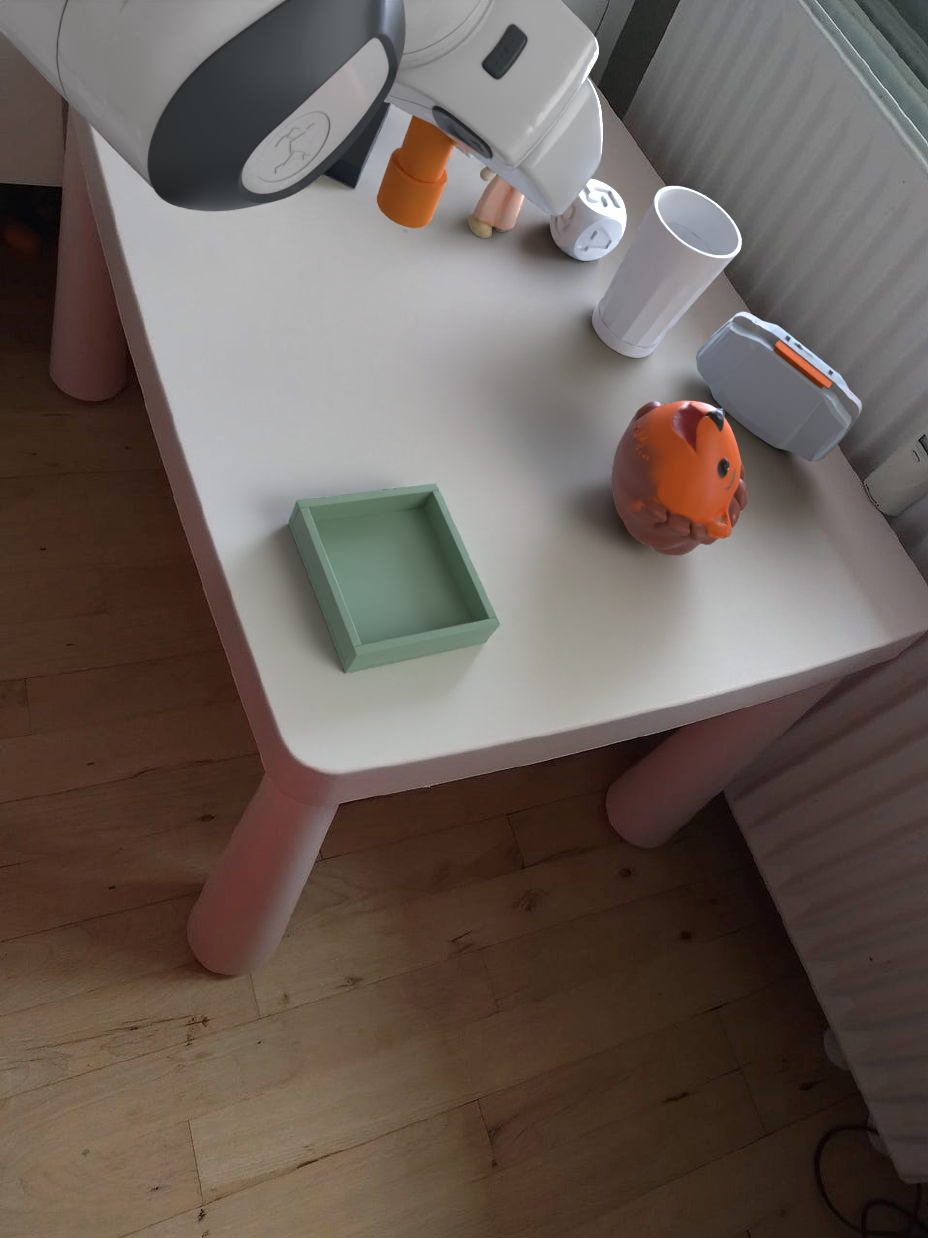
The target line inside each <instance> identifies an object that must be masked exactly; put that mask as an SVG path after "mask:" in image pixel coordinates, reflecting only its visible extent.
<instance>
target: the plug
mask: <svg viewBox="0 0 928 1238" xmlns="http://www.w3.org/2000/svg"><path fill="white" fill-rule="evenodd" d="M450 141H451V140H450V139H449V136H447V135H446V134H445V133H444V132H442V131H441V130H440V129H438V128H437V127H436V126H435V125H433V124H432V123H430V122H427V121H425V120H423V119H421V118H418V117H416V116H414V115H411V119H410V121H409V124H408V127H407V129H406V132H405V135H404V139H403V141H402V143H401V146H400V147H398V148H396V149H394V150H393V151H392V152H391V154H390V157H389V160H388V163H387V166H386V169H385V171H384V174H383V177H382V180H381V183H380V186H379V188H378V192H377V194H376V204H377V207H378V209H379V210H380V211H381V214H383V215H384V216H385V217H386V218H387V219H389V220H390V221H391V222H393V223H395V224H397V225H399V226H401V227H406V228H409V229H421V228H424V227H426V226H427V225H429V224H430V223H431V221H432V219H433V216H434V214H435V211H436V209H437V206H438V204H439V201H440V200H441V196H442V194H443V192H444V189H445V187H446V184H447V182H448V172H447V170H446V166H447V164H448V162H449V159H450V157H451V154H452V151H453V150H454V147H455V146H454V145H452V144H451V142H450Z"/></svg>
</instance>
